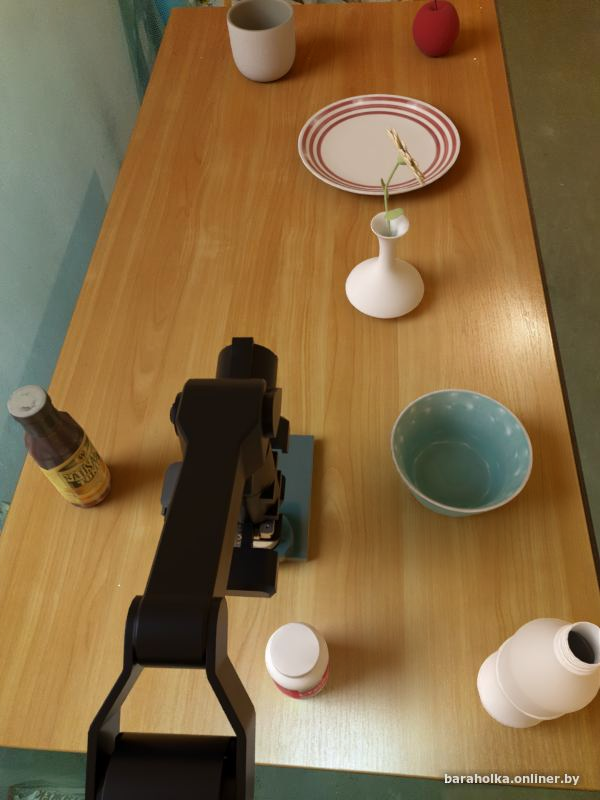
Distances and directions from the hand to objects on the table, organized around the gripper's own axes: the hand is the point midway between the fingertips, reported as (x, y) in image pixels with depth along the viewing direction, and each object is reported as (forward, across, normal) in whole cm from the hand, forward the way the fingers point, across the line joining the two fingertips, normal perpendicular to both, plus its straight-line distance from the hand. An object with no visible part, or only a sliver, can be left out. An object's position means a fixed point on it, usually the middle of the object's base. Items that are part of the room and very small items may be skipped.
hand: (261, 529), depth 71 cm
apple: (+5, -103, +24) cm, 105 cm away
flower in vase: (+5, -40, +14) cm, 42 cm away
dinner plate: (+5, -71, +13) cm, 72 cm away
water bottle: (+5, +14, +26) cm, 31 cm away
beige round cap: (+2, 0, 0) cm, 2 cm away
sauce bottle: (+5, -6, -23) cm, 24 cm away
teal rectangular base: (+5, -6, 0) cm, 8 cm away
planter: (+5, -96, -9) cm, 97 cm away
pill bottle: (+5, +13, +5) cm, 15 cm away
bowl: (+5, -10, +22) cm, 25 cm away
